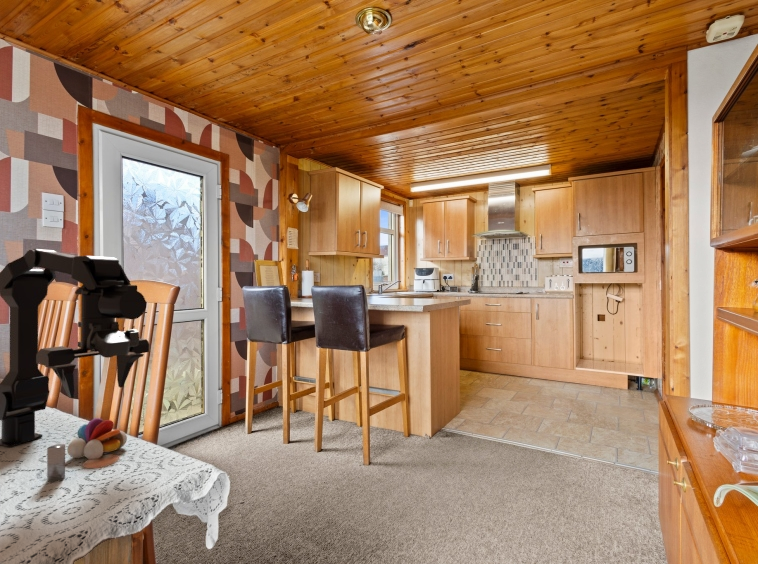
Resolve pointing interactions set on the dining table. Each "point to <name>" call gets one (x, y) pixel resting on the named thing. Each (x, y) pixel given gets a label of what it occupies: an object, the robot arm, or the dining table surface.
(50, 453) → the steel peg
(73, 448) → the rainbow petal ball
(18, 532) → the dining table surface
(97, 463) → the marker disc
